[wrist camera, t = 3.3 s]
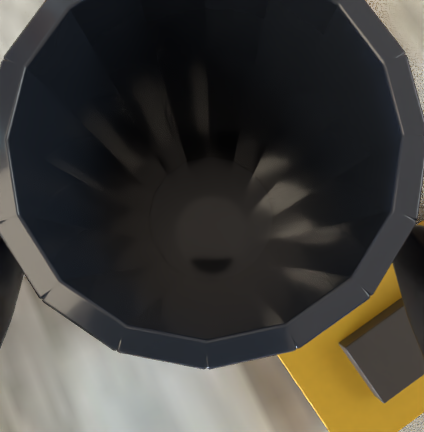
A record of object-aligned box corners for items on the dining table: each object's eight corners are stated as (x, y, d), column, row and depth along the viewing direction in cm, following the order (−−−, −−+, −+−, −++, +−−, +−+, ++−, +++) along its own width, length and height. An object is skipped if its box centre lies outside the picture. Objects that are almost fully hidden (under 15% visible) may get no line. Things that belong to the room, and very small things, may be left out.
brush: (329, 431, 17) (360, 479, 13) (259, 327, 17) (271, 347, 14) (537, 279, 17) (620, 285, 14) (463, 183, 18) (525, 165, 14)
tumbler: (192, 314, 17) (140, 463, 5) (118, 201, 18) (-98, 82, 6) (304, 236, 18) (517, 194, 5) (227, 128, 18) (258, -139, 6)
